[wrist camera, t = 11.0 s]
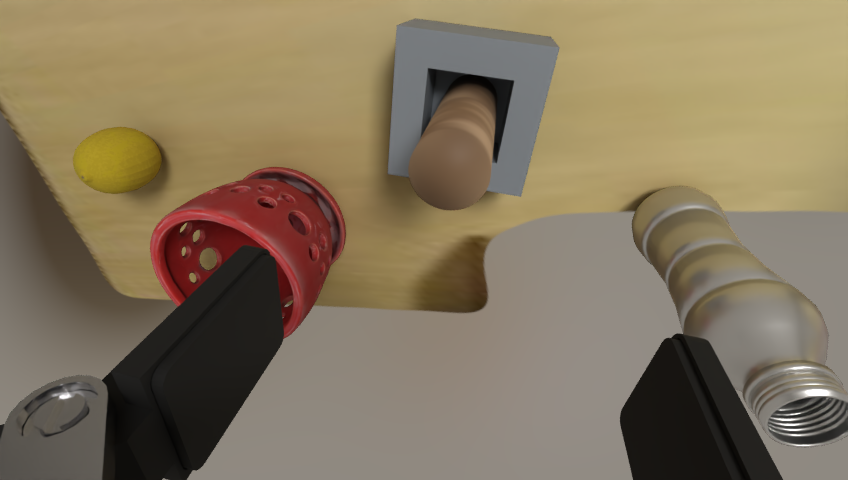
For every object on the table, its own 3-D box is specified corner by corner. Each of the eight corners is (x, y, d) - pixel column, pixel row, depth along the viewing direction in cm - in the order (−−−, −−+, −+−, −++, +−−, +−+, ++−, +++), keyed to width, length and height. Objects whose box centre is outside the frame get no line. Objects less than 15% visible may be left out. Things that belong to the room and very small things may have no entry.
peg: (502, 78, 30) (498, 140, 19) (491, 131, 32) (482, 216, 21) (448, 70, 31) (412, 126, 19) (441, 123, 33) (405, 202, 21)
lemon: (182, 178, 42) (119, 215, 35) (130, 162, 42) (58, 196, 35) (176, 126, 39) (107, 156, 32) (121, 109, 39) (40, 136, 32)
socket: (551, 36, 30) (559, 47, 25) (519, 166, 35) (520, 196, 30) (415, 18, 31) (396, 25, 26) (404, 147, 36) (387, 173, 31)
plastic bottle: (627, 251, 38) (723, 467, 21) (623, 184, 34) (731, 374, 18) (708, 240, 36) (885, 467, 19) (711, 168, 33) (926, 364, 16)
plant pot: (319, 136, 37) (249, 193, 27) (373, 256, 43) (332, 339, 33) (206, 170, 41) (108, 231, 31) (270, 275, 47) (205, 355, 37)
